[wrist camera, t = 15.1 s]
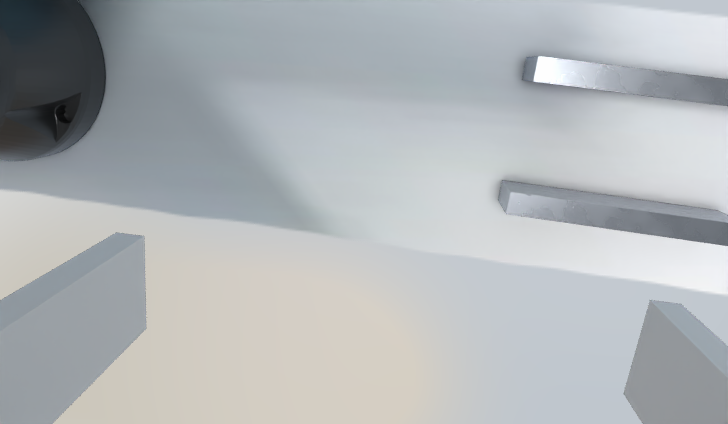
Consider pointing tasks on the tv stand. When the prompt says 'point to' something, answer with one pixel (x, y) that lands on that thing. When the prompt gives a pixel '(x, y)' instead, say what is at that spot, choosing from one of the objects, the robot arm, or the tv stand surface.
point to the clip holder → (614, 208)
